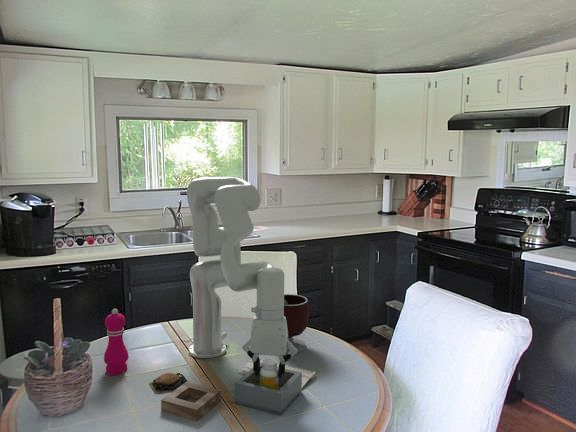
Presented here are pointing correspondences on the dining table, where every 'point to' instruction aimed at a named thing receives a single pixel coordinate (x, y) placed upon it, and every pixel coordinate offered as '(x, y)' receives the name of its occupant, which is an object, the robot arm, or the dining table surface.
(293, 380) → the bin
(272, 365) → the supplement bottle
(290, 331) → the mate gourd
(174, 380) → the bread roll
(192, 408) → the socket collar
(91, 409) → the dining table surface
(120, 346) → the pepper mill
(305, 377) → the newspaper
